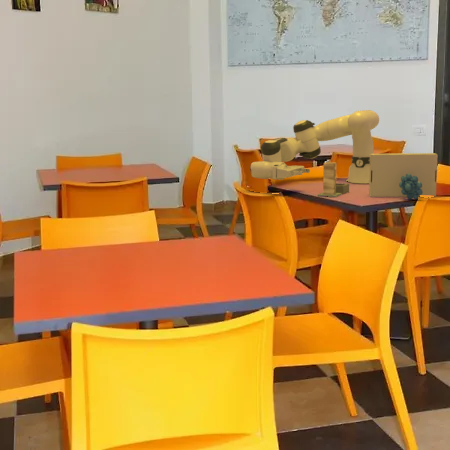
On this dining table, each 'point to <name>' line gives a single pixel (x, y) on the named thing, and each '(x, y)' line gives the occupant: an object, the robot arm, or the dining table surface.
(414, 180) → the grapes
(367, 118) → the robot arm
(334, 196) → the mat
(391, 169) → the packaging
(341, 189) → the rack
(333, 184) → the block
